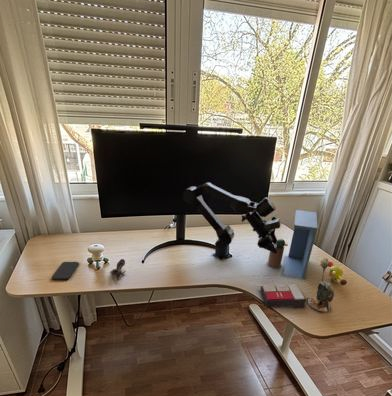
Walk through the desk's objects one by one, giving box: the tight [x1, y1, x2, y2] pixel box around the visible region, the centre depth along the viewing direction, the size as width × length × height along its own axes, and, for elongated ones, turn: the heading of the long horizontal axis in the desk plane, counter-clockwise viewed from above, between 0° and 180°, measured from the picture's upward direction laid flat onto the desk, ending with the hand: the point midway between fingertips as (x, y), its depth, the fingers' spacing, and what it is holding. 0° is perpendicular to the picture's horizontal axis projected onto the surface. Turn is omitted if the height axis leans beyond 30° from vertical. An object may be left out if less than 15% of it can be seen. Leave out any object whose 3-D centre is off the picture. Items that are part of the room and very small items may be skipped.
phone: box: [51, 261, 80, 281], centre depth 129 cm, size 7×1×15 cm
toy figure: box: [327, 261, 348, 286], centre depth 128 cm, size 18×6×7 cm, turn 178°
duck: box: [267, 238, 289, 268], centre depth 137 cm, size 7×6×14 cm
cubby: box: [283, 209, 319, 280], centre depth 133 cm, size 9×21×24 cm, turn 162°
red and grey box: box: [259, 283, 307, 309], centre depth 115 cm, size 11×4×15 cm
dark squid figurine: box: [109, 258, 126, 281], centre depth 127 cm, size 8×7×9 cm
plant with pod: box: [306, 257, 335, 313], centre depth 107 cm, size 8×11×20 cm
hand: (277, 248), depth 136 cm, fingers open, 9 cm apart
